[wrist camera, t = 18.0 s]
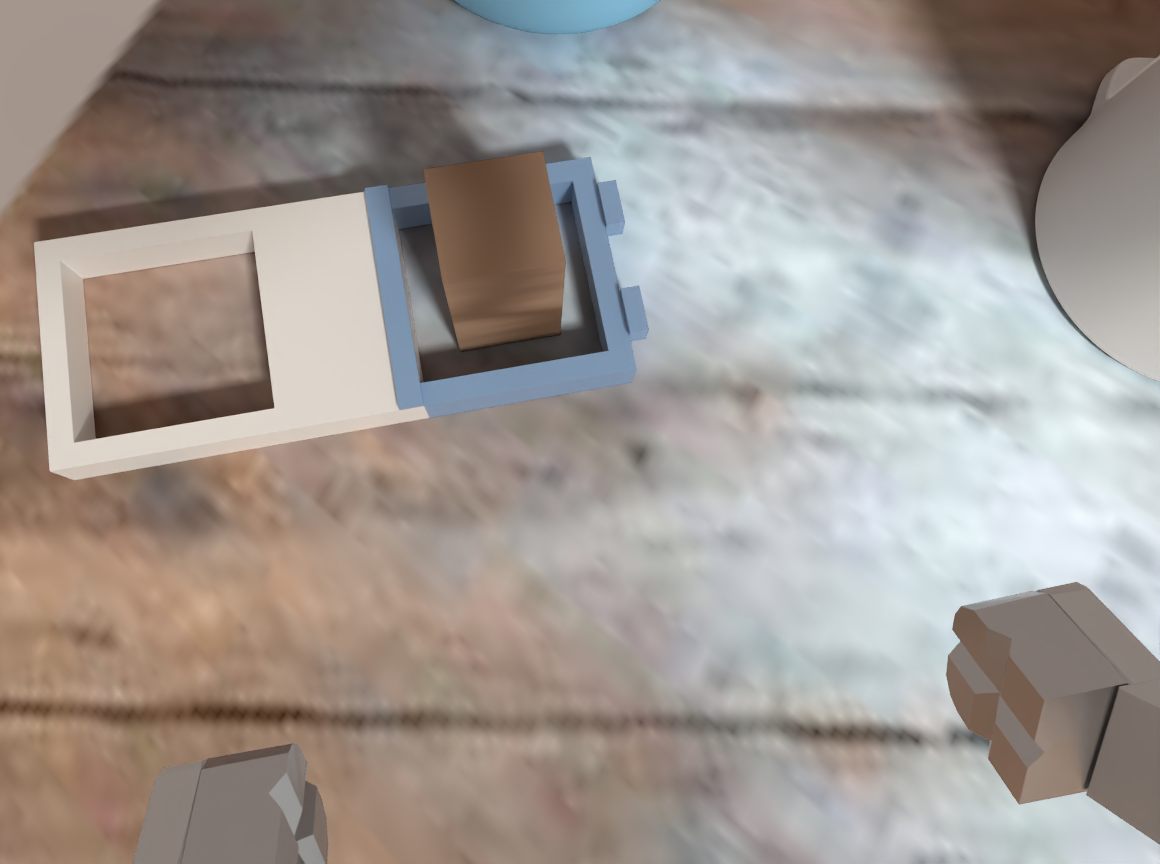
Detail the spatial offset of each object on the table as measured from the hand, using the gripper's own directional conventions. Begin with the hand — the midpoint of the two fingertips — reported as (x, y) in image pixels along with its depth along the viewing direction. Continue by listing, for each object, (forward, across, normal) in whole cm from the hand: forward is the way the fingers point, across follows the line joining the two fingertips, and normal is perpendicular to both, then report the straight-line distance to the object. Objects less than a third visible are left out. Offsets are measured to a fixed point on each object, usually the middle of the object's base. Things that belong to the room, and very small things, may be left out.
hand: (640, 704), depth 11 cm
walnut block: (+31, 0, +8) cm, 32 cm away
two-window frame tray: (+31, +7, +8) cm, 33 cm away
